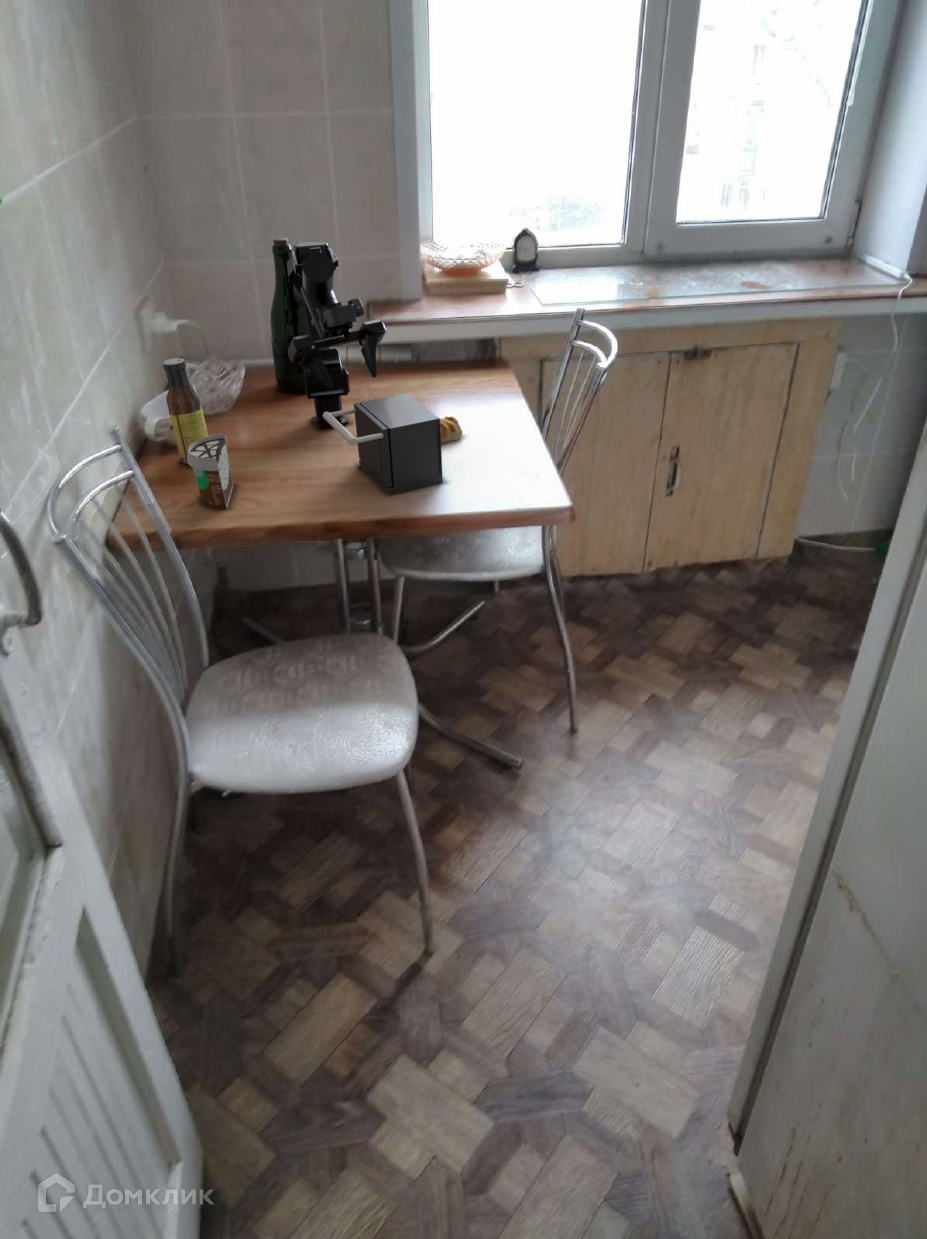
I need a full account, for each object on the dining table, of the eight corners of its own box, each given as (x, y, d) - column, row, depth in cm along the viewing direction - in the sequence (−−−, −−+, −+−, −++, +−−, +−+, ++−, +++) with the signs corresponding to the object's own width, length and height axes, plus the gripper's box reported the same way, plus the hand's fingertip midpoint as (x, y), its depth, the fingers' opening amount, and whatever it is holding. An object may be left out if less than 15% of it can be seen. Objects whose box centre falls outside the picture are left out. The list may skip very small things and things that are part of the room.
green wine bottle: (270, 393, 211) (247, 242, 193) (287, 378, 219) (267, 232, 201) (312, 395, 209) (294, 243, 191) (328, 380, 217) (311, 233, 199)
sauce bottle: (219, 455, 181) (200, 357, 170) (201, 468, 176) (181, 367, 165) (191, 452, 183) (170, 354, 172) (173, 464, 178) (151, 364, 167)
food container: (201, 484, 170) (191, 434, 165) (234, 482, 170) (225, 432, 165) (190, 514, 160) (179, 461, 154) (225, 512, 160) (215, 459, 155)
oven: (388, 495, 164) (383, 429, 157) (359, 465, 176) (353, 403, 169) (442, 482, 168) (440, 418, 161) (411, 454, 179) (407, 393, 172)
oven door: (355, 494, 161) (349, 436, 155) (328, 464, 172) (321, 409, 166) (392, 486, 164) (387, 428, 158) (363, 457, 175) (358, 402, 169)
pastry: (428, 449, 181) (427, 431, 179) (409, 440, 185) (407, 422, 183) (465, 437, 186) (464, 419, 184) (445, 428, 190) (444, 411, 188)
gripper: (285, 294, 161) (317, 374, 161) (379, 276, 169) (409, 352, 168) (274, 324, 172) (304, 399, 171) (363, 306, 179) (392, 378, 179)
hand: (353, 382), depth 172 cm, fingers open, 9 cm apart
